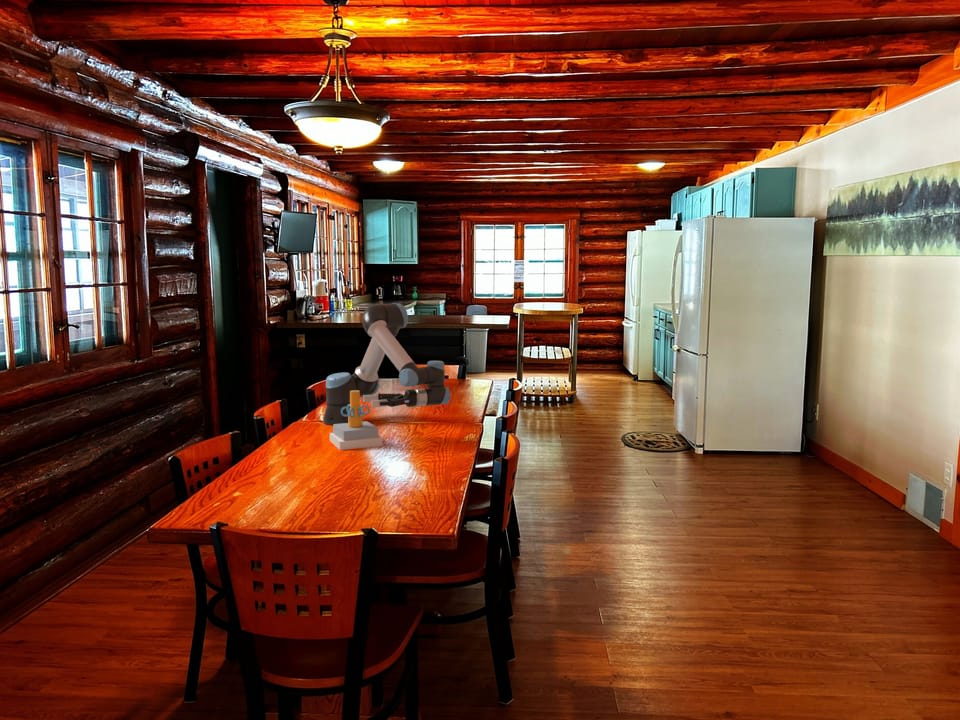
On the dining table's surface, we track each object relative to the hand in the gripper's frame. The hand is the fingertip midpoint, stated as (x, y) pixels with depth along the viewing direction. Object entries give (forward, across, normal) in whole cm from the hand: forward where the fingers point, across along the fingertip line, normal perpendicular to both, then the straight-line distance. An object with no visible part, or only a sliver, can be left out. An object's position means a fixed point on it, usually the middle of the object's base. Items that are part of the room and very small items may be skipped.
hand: (367, 401), depth 305 cm
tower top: (+5, 0, -14) cm, 15 cm away
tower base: (+5, 0, -18) cm, 19 cm away
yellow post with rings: (+5, +1, -10) cm, 12 cm away
